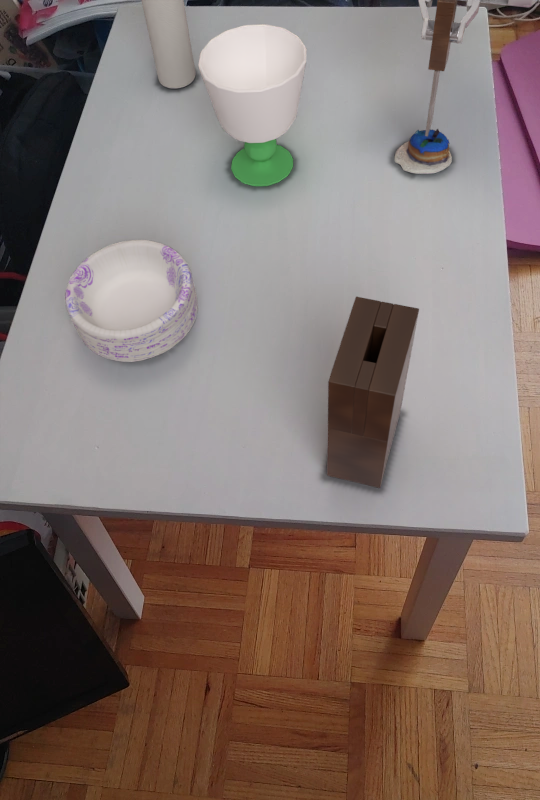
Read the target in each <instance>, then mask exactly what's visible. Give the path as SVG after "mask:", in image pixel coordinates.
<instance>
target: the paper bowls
mask: <svg viewBox="0 0 540 800" xmlns="http://www.w3.org/2000/svg"><path fill="white" fill-rule="evenodd" d="M64 294H65V295H64V296H65V297H64V303H65V308H66V312H67V315H68V316H69V318H70V319H71V322H72V324H73V326H74V328H75V329H76V331H77V334H78V336H79V337H80V339H81V340H82V343H84V345H85V346H86V347H87V348H88V349H89V350H90V351H92V353H94V354H95V355H98V356H100V357H103V358H104V359H107V360H112V361H116V362H120V363H121V362H123V363H134V362H140V361H145V360H149V359H152V358H155V357H157V356H160V355H162V354H164V353H166V352H168V351H170V350H171V349H172V348H174V347H175V346H176V345H177V344H178V343H180V342H181V341H182V340H183V339H185V337H186V336H187V335H188V334H189V332H190V331H191V329H192V328H193V326H194V324H195V322H196V318H197V315H198V309H199V302H198V295H197V291H196V286H195V283H194V278H193V274H192V271H191V267H190V266H189V264H188V263H187V261H186V260H185V258H184V257H183V256H182V255H181V254H180V253H179V252H178V251H176V250H175V249H174V248H172V247H170V246H169V245H166V244H164V243H162V242H158V241H154V240H148V239H129V240H123V241H119V242H115V243H112V244H109V245H106V246H104V247H103V248H102V247H101V248H100V249H99V250H97V251H95V252H93V253H91V254H90V255H89V256H88V257H86V258H85V259H84V260H82V262H80V264H78V266H77V267H76V268H75V270H74V271H73V273H72V274H71V275H70V278H69V280H68V282H67V284H66V289H65V293H64Z"/></svg>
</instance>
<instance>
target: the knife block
mask: <svg viewBox="0 0 540 800" xmlns="http://www.w3.org/2000/svg"><path fill="white" fill-rule="evenodd" d="M419 313H420V308H419V307H413V306H408V305H403V304H397V303H391V302H387V301H381V300H377V299H371V298H366V297H360V296H355V298H354V301H353V304H352V308H351V310H350V313H349V316H348V317H349V318H348V320H347V323H346V325H345V329H344V331H343V334H342V338H341V341H340V344H339V347H338V350H337V353H336V356H335V360H334V363H333V365H332V368H331V372H330V375H329V378H328V380H327V445H326V446H327V456H326V457H327V458H326V475H327V476H328V477H332V478H336V479H340V480H344V481H349V482H352V483H358V484H361V485H366V486H368V487H373V488H378V489H381V487H382V485H383V479H384V475H385V472H386V468H387V464H388V461H389V457H390V453H391V449H392V445H393V442H394V438H395V434H396V430H397V427H398V423H399V419H400V416H401V411H402V406H403V400H404V396H405V390H406V383H407V379H408V378H407V377H408V373H409V367H410V362H411V357H412V356H411V355H412V351H413V345H414V339H415V335H416V329H417V324H418V317H419Z"/></svg>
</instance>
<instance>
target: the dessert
mask: <svg viewBox="0 0 540 800" xmlns="http://www.w3.org/2000/svg"><path fill="white" fill-rule="evenodd" d="M425 132H426V129H422V130H419V129H417V130H416V131H415V133H413V134H412V135H411V136H410V138H409V140H408V141H406V142H404V143H403V144H402V145H400V146H399V147H398V148H397V150H396V151H395V154H394V159H393V160H394V163H396V164H398V165H400V166H401V168H402V170H403V171H405V172H407V173H411V174H416V175H418V174H419V175H420V174H421V175H422V174H428V175H429V174H435V173H439V172H441V171H444V170H445V169H446V168H448V167H449V166H450V165H452V161H453V157H452V154H451V152H450V149H451V147H450V141H449V139H448V137H447V136H446V135H445V133H443V132H442V131H440V130H439V128H437V129H436V130H435V129H430V131H429V134H428V136H425Z"/></svg>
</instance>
